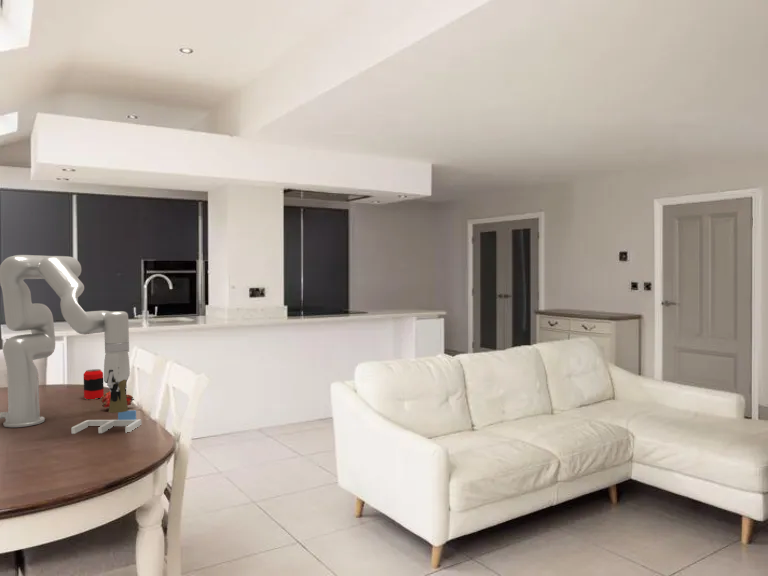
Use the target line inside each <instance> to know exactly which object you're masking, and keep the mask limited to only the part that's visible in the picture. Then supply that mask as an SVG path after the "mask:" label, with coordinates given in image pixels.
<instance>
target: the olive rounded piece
mask: <svg viewBox="0 0 768 576" xmlns="http://www.w3.org/2000/svg"><path fill="white" fill-rule="evenodd" d="M113 382H116V380H113ZM126 384H128V381H127V382H126V380H125V379H124V380H123V381H121V382H119V387H120V388H119V391H121V399H120V400H119V397H118V400H117V401H116V402H113V401H111V398H110V406H109V407H108V413H110V414H111V413H112V414H118V413H119V412H125V411H129V405H127V399H126V395H127V392H126V393H125V387H126ZM114 385H116V386H117V384H114Z"/></svg>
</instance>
